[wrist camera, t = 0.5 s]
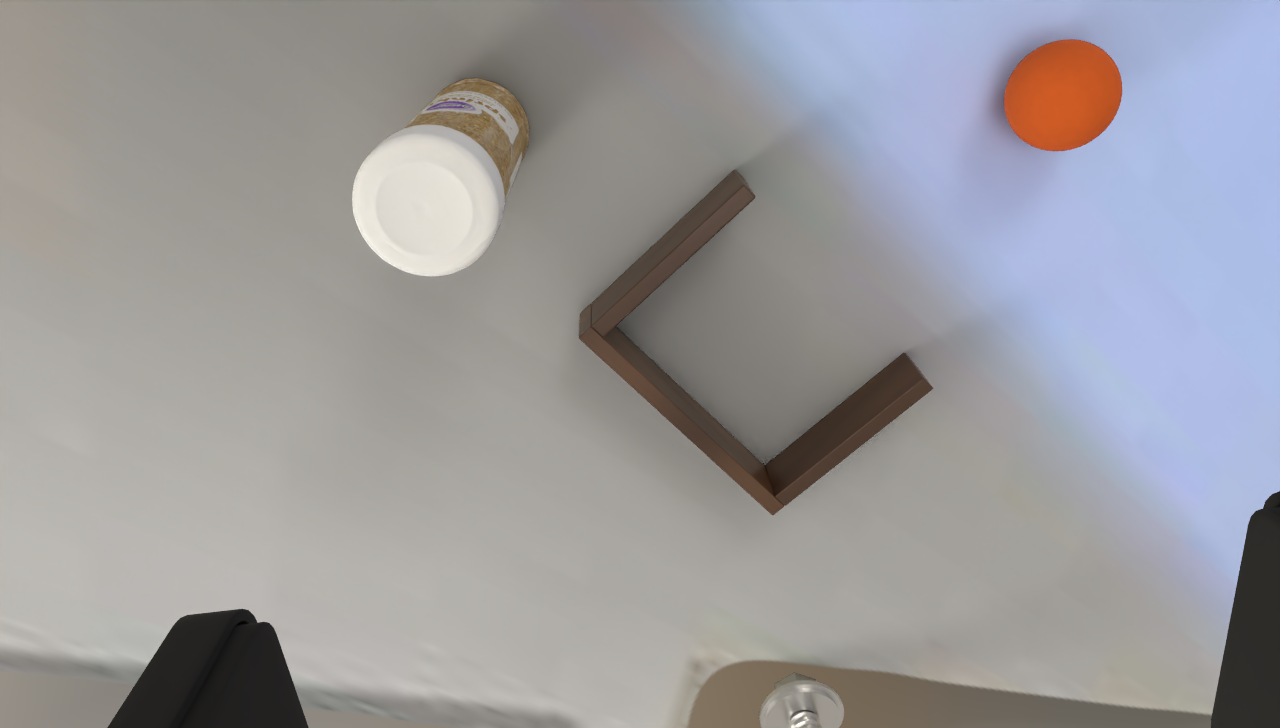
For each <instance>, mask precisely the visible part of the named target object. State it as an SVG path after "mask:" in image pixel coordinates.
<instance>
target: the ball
mask: <svg viewBox="0 0 1280 728" xmlns="http://www.w3.org/2000/svg"><path fill="white" fill-rule="evenodd" d="M1121 97H1122V81H1121V76H1120V73H1119V70H1118V68H1117V66H1116V64H1115V63H1114V61H1113V59H1112V58H1111V57H1110V56H1109V55H1108V54H1107V53H1106V52H1105V51H1104V50H1102V49H1101V48H1099V47H1098V46H1096V45H1094V44H1091V43H1088V42H1085V41H1081V40H1059V41H1055V42H1051V43H1048V44H1045V45H1043V46H1041V47H1039V48H1037V49H1036V50H1034V51H1032V52H1031V53H1030V54H1028V55H1027V56H1026V57H1025V58H1024V59H1023V60H1022V61H1021V62H1020V63H1019V64H1018V65H1017V67H1016V68H1015V70H1014V71H1013V73H1012V74H1011V76H1010V78H1009V81H1008V83H1007V86H1006V90H1005V97H1004V107H1005V113H1006V117H1007V120H1008V122H1009V124H1010V126H1011V128H1012V129H1013V131H1014V132H1015V133H1016V134H1017V135H1018V136H1019V137H1020V138H1021V139H1022V140H1023V141H1025V142H1026V143H1028V144H1030V145H1031V146H1034V147H1036V148H1039V149H1043V150H1047V151H1065V150H1071V149H1074V148H1077V147H1080V146H1083V145H1085V144H1087V143H1089V142H1090V141H1092V140H1093V139H1095V138H1096V137H1097V136H1099V135H1100V134H1101V133H1102V132H1103V131H1104V130H1105V129H1106V128H1107V127H1108V126H1109V125H1110V123H1111V122H1112V120H1113V119H1114V117H1115V115H1116V113H1117V111H1118V108H1119V106H1120V102H1121Z"/></svg>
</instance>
